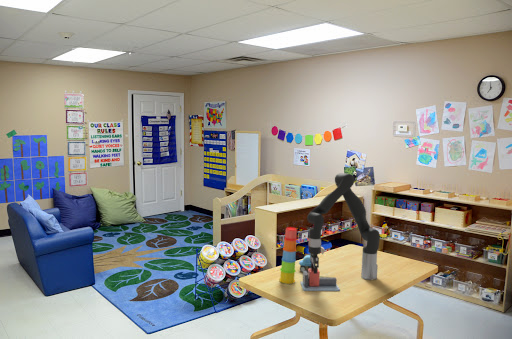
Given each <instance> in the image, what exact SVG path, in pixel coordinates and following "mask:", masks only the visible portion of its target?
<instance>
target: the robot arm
mask: <svg viewBox="0 0 512 339" xmlns="http://www.w3.org/2000/svg"><path fill="white" fill-rule="evenodd" d="M334 182H335V186H336V188H335V189H334V190H333V191H332V192H330V193H328V194H326V196H325V197H324V198H323V199H322V200H321V201H320V203H319V204H318V205H317V206H315V207H314V208H313V209H312V210H310V212H309V213H308V215H307V216H306V219H307V222H308V223H309V224H312V225H313V227H311V228H310V229H309V231H308V232H309V234H308V253H309V255H310V260H311V262H312V263H311V268H312V269H314V274H317V273H318V270H319V267H320V266H319V265H320V264H319V263H320V260H319V259H320V258H319V256H318V255H320V254H322V253H321V247H322V237H321V236H322V230H323V226H324V222H325V221H324V220H325V219H324V216H323V215H325V214H328V212H330V210H331V209H332V207H333V206H334V205H335V204H336V203H337V201H338V200H339V199H340V198H341V197H342V196H343V199H344V201H345V203H346V205H347V207H348V209H349V212H350V213H351V215H352V218H353V219H354V221H355V223H356V226H357V228H358V231H359V234H360V236H361V238H362V239H363V240H364V241H365V242H366V245H365V246H363V247H362V256H361V274H360V275H361V278H362V279H363V280H369V281H373V280H378V263H377V262H378V250H379V247H380V239H381V238H380V232H379V230H377V229H375V228H373V227H371V226H370V224H369V222H368V221H367V220H368V219H367V210H366V207H365V205H364V203H363V202H362V200H361V198H359V197H358V195H357V194H356V193H354V191H353V190H352V189H351V188H352V187H353V185H354V184H355V176H354V175H353V174H351V173H347V172H346V173H343V172H341V173H337V174H336V175H335V177H334ZM315 264H316V265H315Z"/></svg>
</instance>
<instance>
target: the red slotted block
mask: <svg viewBox="0 0 512 339" xmlns="http://www.w3.org/2000/svg"><path fill="white" fill-rule="evenodd" d="M307 273H308V278H309V286H319V277H320V270H319V269H318V273H317V274H314V269H308V270H307Z"/></svg>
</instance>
